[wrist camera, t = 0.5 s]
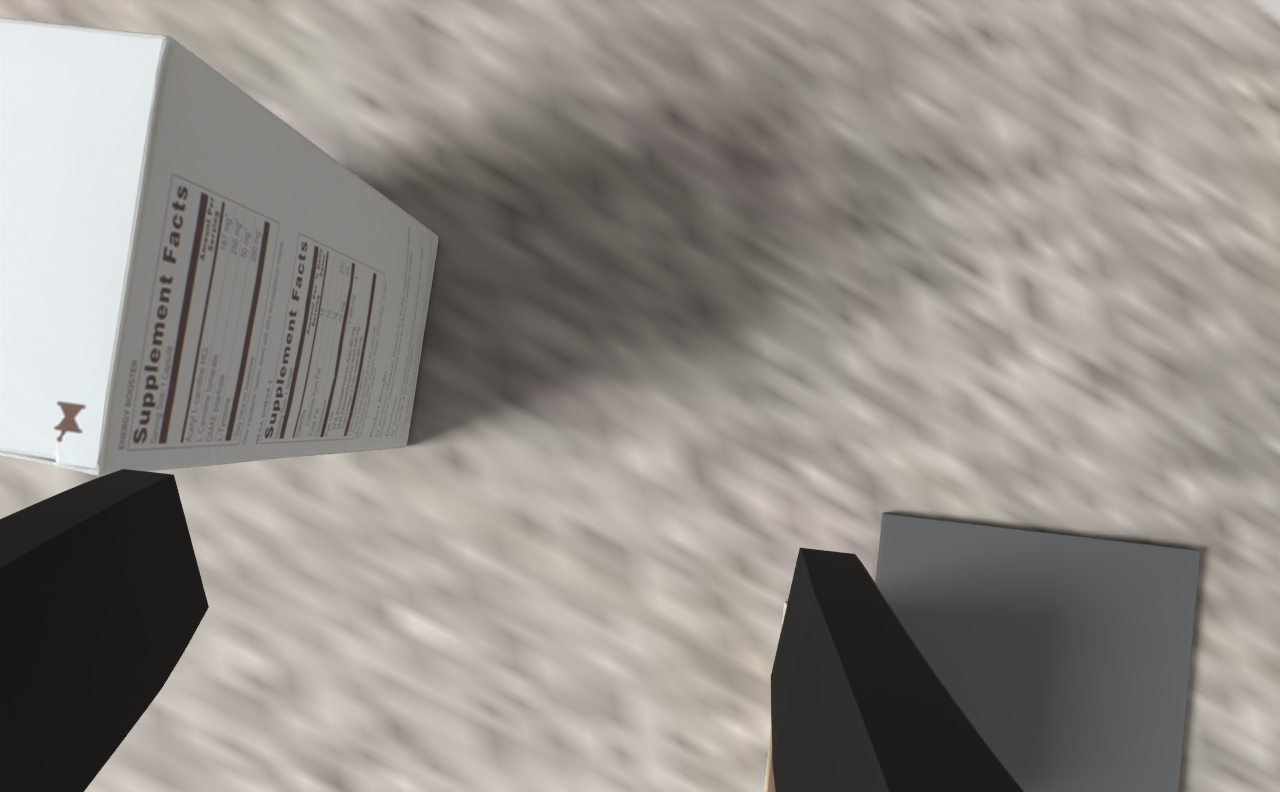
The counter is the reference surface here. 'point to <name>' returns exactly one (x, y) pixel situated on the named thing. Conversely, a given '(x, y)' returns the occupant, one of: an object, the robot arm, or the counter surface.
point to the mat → (1052, 645)
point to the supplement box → (188, 268)
